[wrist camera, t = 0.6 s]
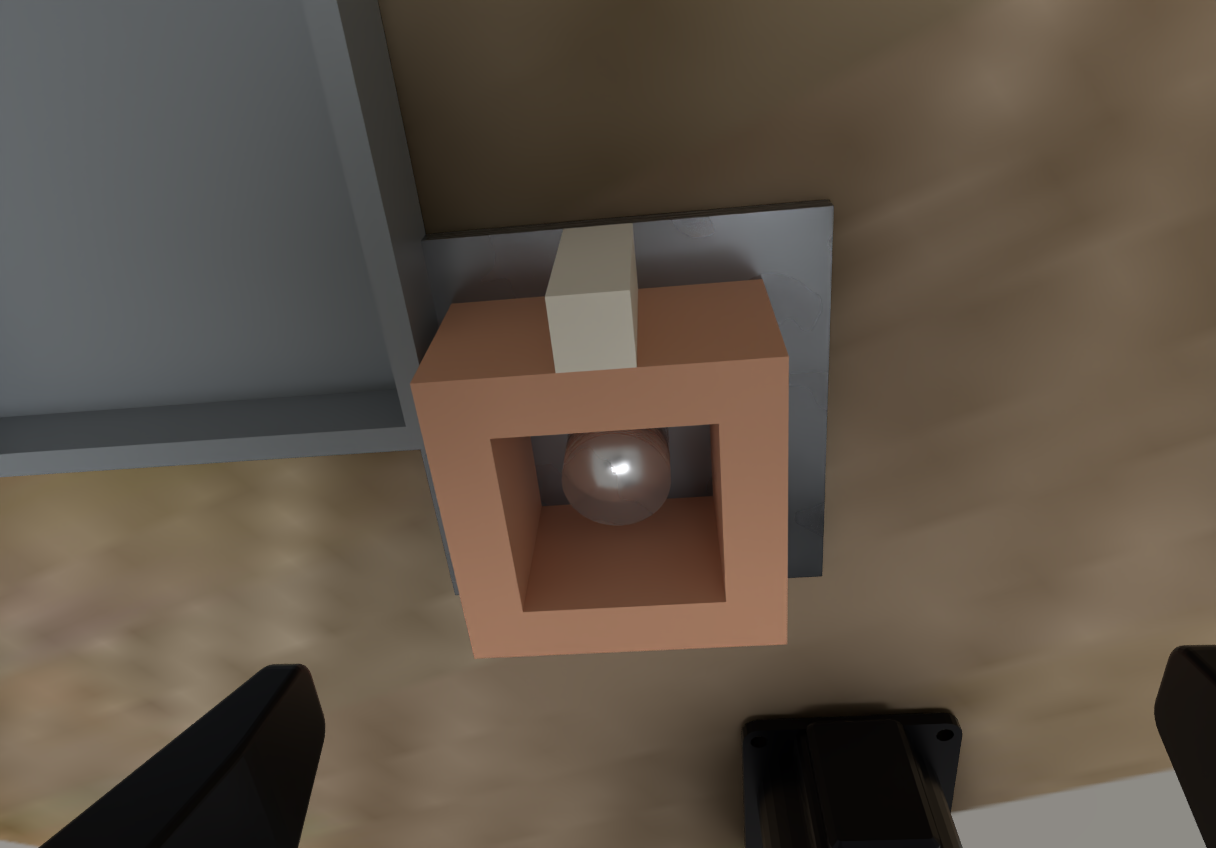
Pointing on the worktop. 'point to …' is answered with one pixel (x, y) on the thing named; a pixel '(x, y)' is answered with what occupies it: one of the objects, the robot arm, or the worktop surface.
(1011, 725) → the worktop surface
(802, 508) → the grey lid with knob
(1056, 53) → the worktop surface
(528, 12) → the worktop surface
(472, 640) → the brown square frame
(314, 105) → the tray
